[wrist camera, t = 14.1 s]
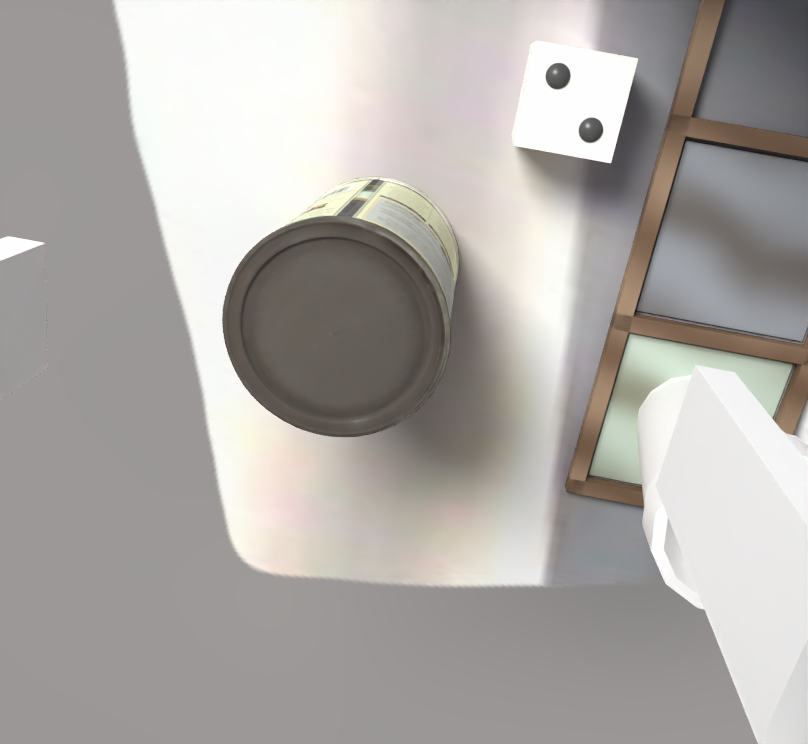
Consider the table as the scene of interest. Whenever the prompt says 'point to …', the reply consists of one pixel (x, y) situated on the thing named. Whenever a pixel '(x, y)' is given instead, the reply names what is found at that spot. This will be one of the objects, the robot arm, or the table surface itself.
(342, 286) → the coffee can
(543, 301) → the table surface
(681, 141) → the walnut frame
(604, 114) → the white die
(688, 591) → the foam cup
